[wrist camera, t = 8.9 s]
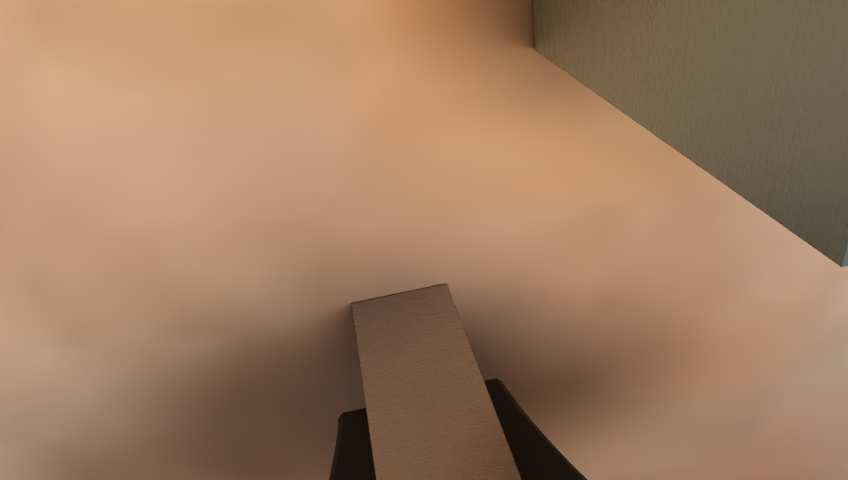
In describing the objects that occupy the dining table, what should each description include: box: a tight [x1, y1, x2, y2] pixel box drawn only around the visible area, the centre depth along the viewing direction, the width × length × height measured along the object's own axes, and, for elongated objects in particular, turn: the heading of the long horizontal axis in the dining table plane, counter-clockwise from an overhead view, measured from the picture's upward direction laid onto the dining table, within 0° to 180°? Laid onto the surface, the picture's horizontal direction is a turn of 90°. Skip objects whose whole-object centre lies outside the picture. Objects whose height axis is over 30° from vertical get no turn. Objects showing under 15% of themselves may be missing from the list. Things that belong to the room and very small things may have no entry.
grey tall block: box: [352, 284, 521, 480], centre depth 12 cm, size 5×2×5 cm, turn 7°
